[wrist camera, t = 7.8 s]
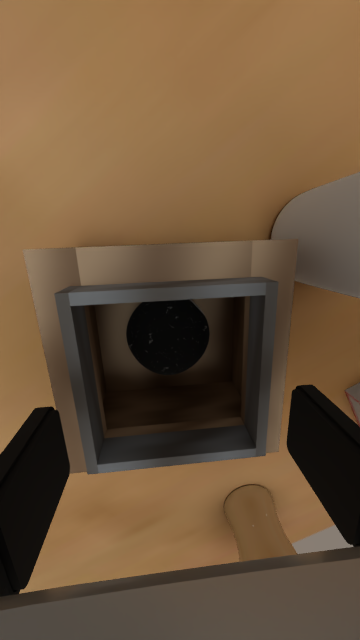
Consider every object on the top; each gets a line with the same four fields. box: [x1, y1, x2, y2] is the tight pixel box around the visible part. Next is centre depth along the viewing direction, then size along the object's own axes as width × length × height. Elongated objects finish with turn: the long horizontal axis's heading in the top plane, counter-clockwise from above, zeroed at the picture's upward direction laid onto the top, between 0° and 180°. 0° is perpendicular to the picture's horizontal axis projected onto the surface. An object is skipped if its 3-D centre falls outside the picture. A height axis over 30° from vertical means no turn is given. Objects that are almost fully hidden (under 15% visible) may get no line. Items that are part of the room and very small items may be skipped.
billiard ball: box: [126, 299, 210, 375], centre depth 19 cm, size 6×6×6 cm
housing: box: [23, 239, 298, 474], centre depth 18 cm, size 14×14×11 cm
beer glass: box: [224, 485, 297, 562], centre depth 24 cm, size 7×7×15 cm
